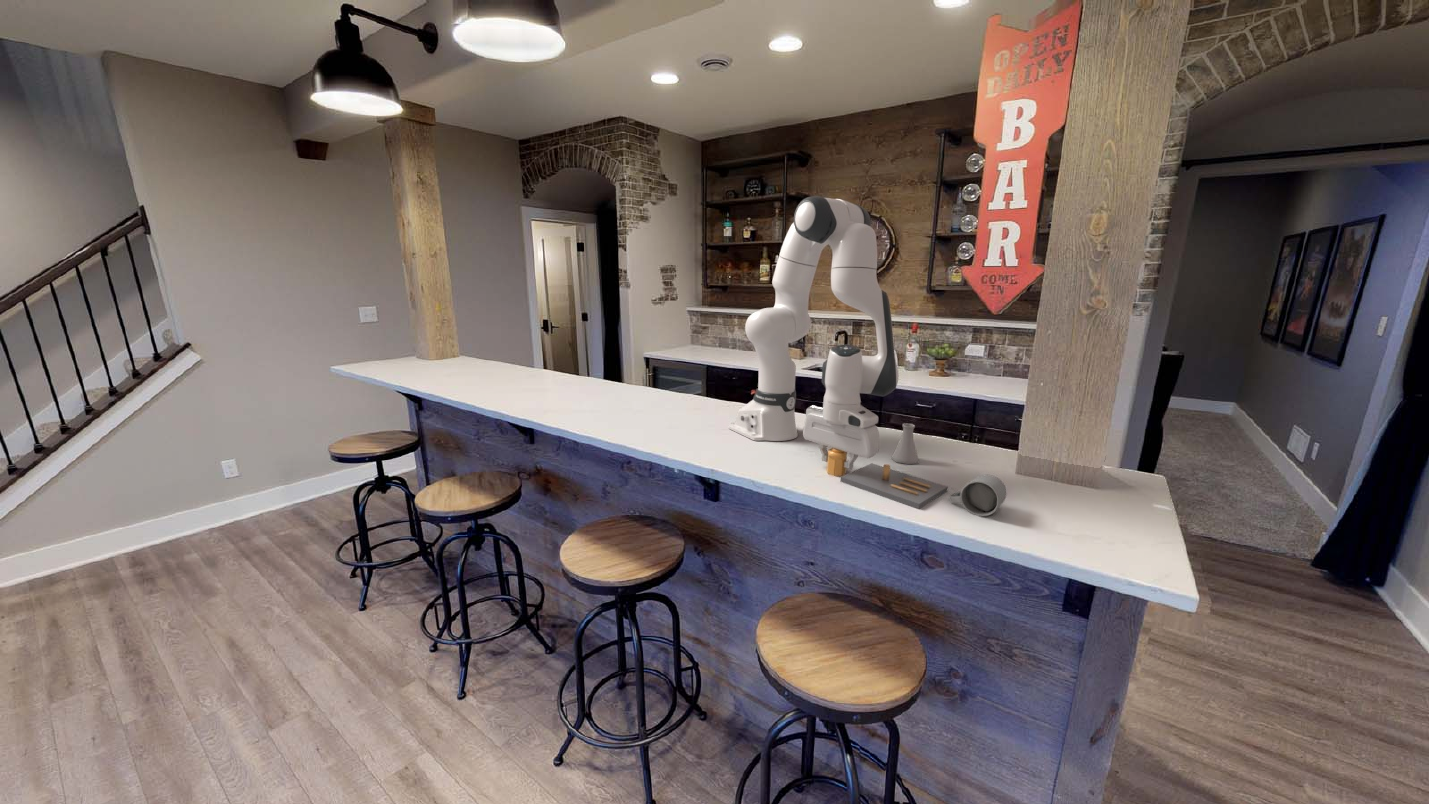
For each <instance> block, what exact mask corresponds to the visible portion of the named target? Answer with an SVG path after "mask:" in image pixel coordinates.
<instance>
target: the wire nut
mask: <svg viewBox="0 0 1429 804" xmlns="http://www.w3.org/2000/svg"><path fill="white" fill-rule="evenodd" d="M827 451H828V461H827V462H826V464H827V465H826V473H827V474H828V475H831V476H833V477H834V476H835V477H842V476H844V475H846V474H847V473H846V472H847V469H846V468H844V466H845V464H844V463H845V461H848V458H847V457H848V456H847V455H848V452H845V451H842V450H839V449H835V448H832V447H830V448H829V449H827Z"/></svg>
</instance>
